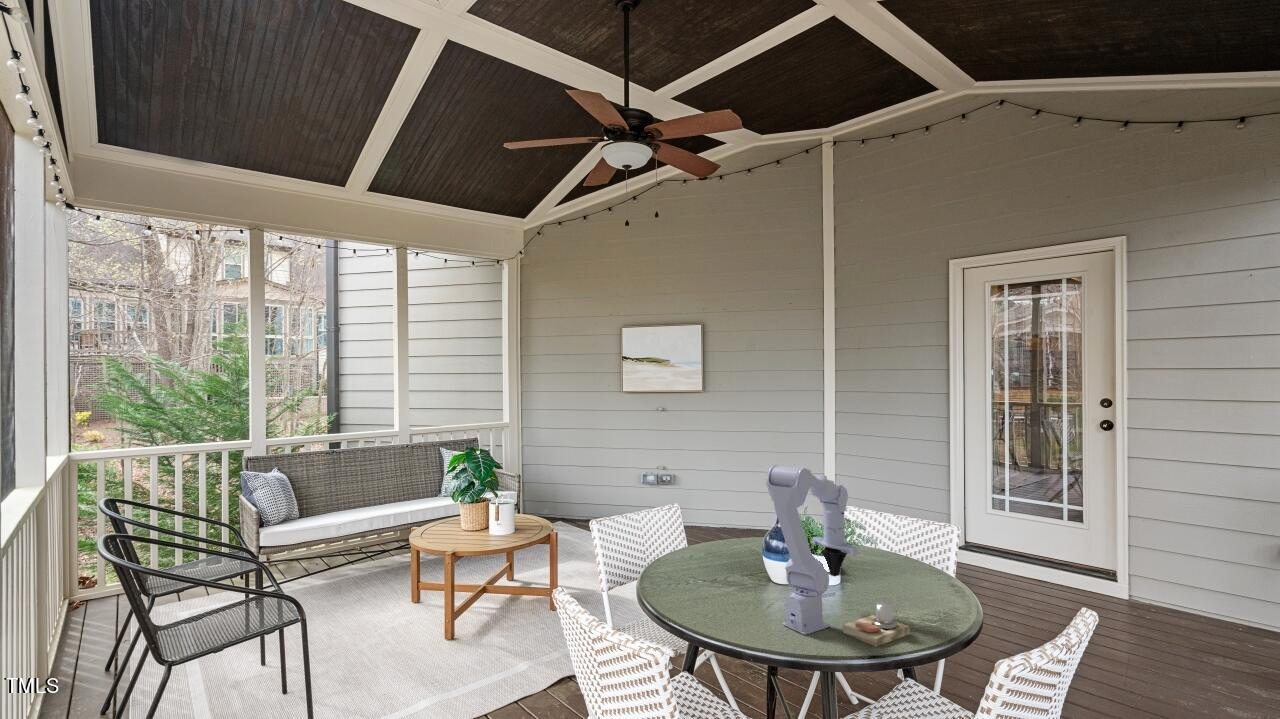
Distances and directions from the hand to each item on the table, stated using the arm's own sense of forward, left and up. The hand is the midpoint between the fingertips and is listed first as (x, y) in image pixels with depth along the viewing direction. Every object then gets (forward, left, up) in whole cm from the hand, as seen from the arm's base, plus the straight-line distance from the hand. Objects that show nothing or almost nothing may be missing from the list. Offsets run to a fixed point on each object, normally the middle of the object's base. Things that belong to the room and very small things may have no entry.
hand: (834, 575), depth 178 cm
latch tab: (-9, -18, -7) cm, 21 cm away
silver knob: (-2, -18, -9) cm, 20 cm away
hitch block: (-4, -17, -9) cm, 20 cm away
